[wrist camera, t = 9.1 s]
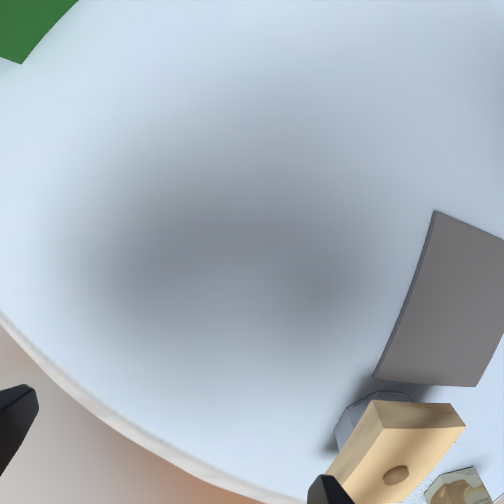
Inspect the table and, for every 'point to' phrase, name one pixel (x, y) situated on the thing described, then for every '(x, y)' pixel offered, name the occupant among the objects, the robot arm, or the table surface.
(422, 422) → the lid
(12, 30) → the hardback book
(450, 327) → the mat
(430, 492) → the skincare box
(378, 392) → the bowl
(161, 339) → the table surface
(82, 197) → the table surface
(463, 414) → the table surface
